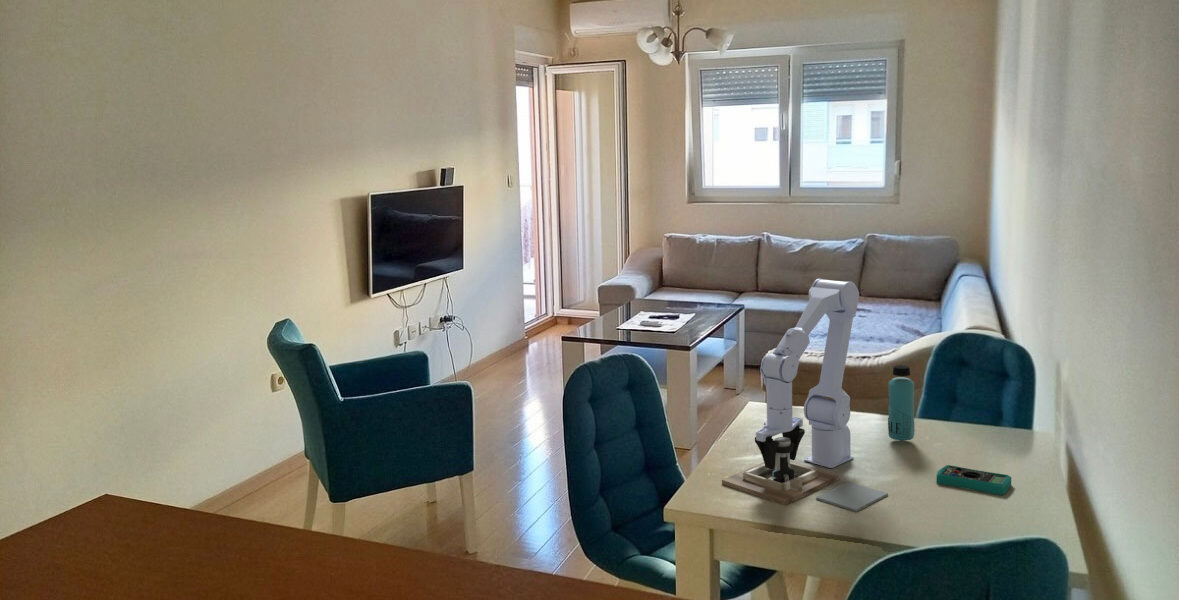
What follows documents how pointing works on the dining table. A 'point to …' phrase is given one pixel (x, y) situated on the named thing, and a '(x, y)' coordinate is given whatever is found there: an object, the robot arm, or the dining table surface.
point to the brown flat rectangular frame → (777, 491)
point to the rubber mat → (852, 496)
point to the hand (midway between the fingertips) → (780, 463)
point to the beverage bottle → (901, 405)
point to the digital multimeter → (974, 479)
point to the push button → (783, 461)
